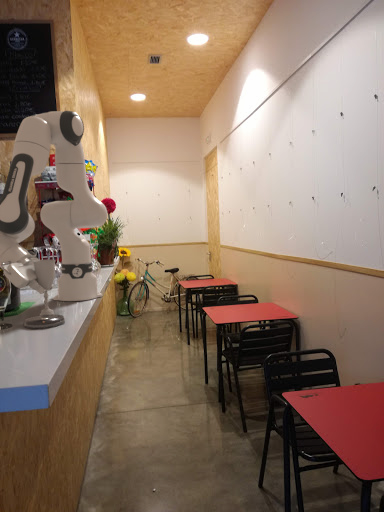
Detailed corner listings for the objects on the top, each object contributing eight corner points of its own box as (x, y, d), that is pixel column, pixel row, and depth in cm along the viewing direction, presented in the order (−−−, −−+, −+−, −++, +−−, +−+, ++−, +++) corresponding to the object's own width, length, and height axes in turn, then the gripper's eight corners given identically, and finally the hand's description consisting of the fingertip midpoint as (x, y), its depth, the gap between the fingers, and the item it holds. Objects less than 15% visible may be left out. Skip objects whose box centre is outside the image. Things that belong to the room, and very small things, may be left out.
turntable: (26, 321, 115) (26, 316, 115) (65, 318, 118) (64, 312, 118) (22, 330, 105) (22, 324, 104) (64, 326, 108) (64, 320, 108)
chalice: (63, 315, 122) (60, 259, 121) (47, 320, 116) (44, 261, 115) (46, 313, 126) (43, 259, 124) (30, 318, 119) (27, 261, 118)
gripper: (5, 255, 109) (41, 288, 110) (35, 251, 130) (65, 279, 130) (-9, 271, 110) (26, 304, 110) (23, 264, 130) (53, 292, 131)
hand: (47, 290), depth 120 cm, fingers closed on chalice, 5 cm apart
